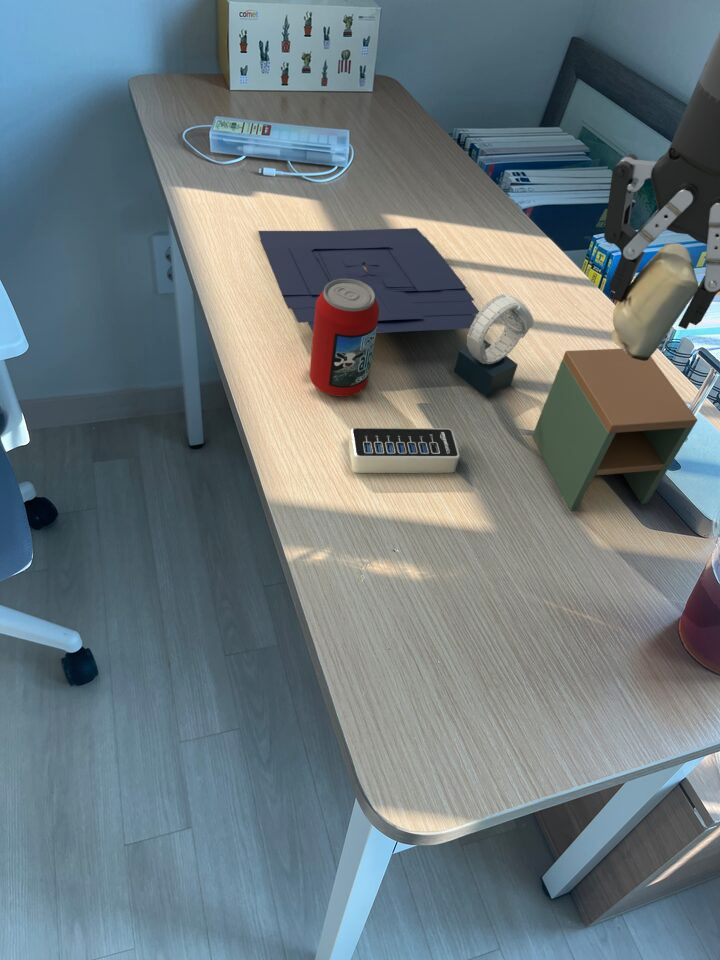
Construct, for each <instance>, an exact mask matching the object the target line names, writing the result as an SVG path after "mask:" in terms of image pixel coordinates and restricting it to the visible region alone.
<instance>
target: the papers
mask: <svg viewBox="0 0 720 960" xmlns="http://www.w3.org/2000/svg"><path fill="white" fill-rule="evenodd" d="M257 232H258V235H259V241H260V245H261V247H262V249H263V252H264V253H265V256H266V259H267V261H268V263H269V265H270V268H271V271H272V273H273V275H274V278H275V281H276V283H277V286H278V288H279V291H280V294H281V295H282V298H283V300H284V303H285V305H286V307H287V309H288V310H292V313H293V315H294V318H295V320H296V321H297V324H298V323H300V324H301V323H307V324H308V326H309V328H310V330H311V333H312V334H313V329H314V318H315V309H316V301H317V299H318V297H319V296H320V295H321V293H322V292H323V291H324V288H325V286H326V285H327V284H328V283H330V282H331V281H334V280H338V279H353V280H357V281H361V282H363V283H365V284H367V285H368V286H369V287H371V288H372V290H373V291H374V293H375V299H376V301H377V303H378V306H379V316H378V323H377V330H376V334H381V333H385V334H386V333H399V332H401V333H402V332H421V331H423V332H424V331H442V330H443V331H444V330H445V331H447V330H464V329H465V330H466V329H469V330H470V327H471V325H472V323H473V321H474V319H475V318H476V317H474V315H477V314H478V313H479V312H480V310H479V309H478V308H477V306H476V305H475V303H474V302H475V301H476V300H475V299H474V298H473V296H472V295H471V294H470V292H469V291H468V289H467V286H466V285H465V284H464V283H463V281H462V280H461V279H460V277H459V276H458V275H457V273H456V272H455V271H454V270H453V268H452V267H451V266H450V265H449V264H448V262H447V261H446V260H445V258H444V256H442V254H441V253H440V252H439V251H438V249H437V247H435V245H434V244H433V243H431V241H430V240H429V239H428V238H427V237H426V236H424V235H423V233H422V232H421V231H420V230H419V229H418V228H417V227H412V228H411V227H410V228H384V229H383V228H381V229H354V230H353V229H352V230H258V231H257Z"/></svg>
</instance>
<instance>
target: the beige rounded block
mask: <svg viewBox="0 0 720 960" xmlns="http://www.w3.org/2000/svg"><path fill="white" fill-rule="evenodd" d="M634 277H635V278H633V280H632V282H631V284H630V286H629V287H628V289H627V291H626V293H625V295H624V297H623V299H622V300H621V302H619V301H617V302H616V304H615V306H614V309H613V311H612V312H613V313H612V324H613V330H612V332H611V339H612V341H613V342H614V344H615V345H616V346H618V347H619V348H620V349H623V350H624V351H625V352H626V354H627V355H628V356H630V357H631V358H635V359H638V360H642V361H647V360H648V359H649V358H650V356H651V357H652V356H653V354H654V353H655V352H656V351H657V350H658V348H659V347H660V345H661V344H662V343H663V342H664V340H665V338H666V337H667V335H668V333H669V332H670V331H671V329H672V328H673V326H674V325H675V323H676V322H677V321H678V319H679V318H680V316H681V315H682V314H683V312H684V310H685V309H686V308H687V307H688V305H689V304H690V302H691V300H692V298H693V296H694V294H695V293H696V292H697V290H698V287H699V281H698V279H697V275H696V272H695V268H694V263H693V261H692V259H691V255H690V252H689V249H687V247H686V246H685V245H683V244H681V243H678V242H677V243H676V242H675V243H674V242H671V243H667V244H664V246H662V247H661V248H660V249H659V250H658V251H657V253H656V254H655V255H654V256H653V257H652V258H651V259H650V260H649V261H648V262H647V263H646V264H645V266H643V268H642V269H641V270H640V271H639V272H638V273H637V275H636V276H634Z"/></svg>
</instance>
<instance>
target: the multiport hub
mask: <svg viewBox="0 0 720 960" xmlns="http://www.w3.org/2000/svg"><path fill="white" fill-rule="evenodd" d="M348 451H349V457H350V465H351V470H352V472H353V473H355V474H453V473H455V472H456V469H457V466H458V463H459V459H460V451H459V449H458V444H457V441H456V438H455V434H454V431H453V430H452V429H451V428H435V427H434V428H432V427H431V428H430V427H429V428H427V427H426V428H421V427H420V428H418V427H353V428H351V429H350V434H349V441H348Z"/></svg>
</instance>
